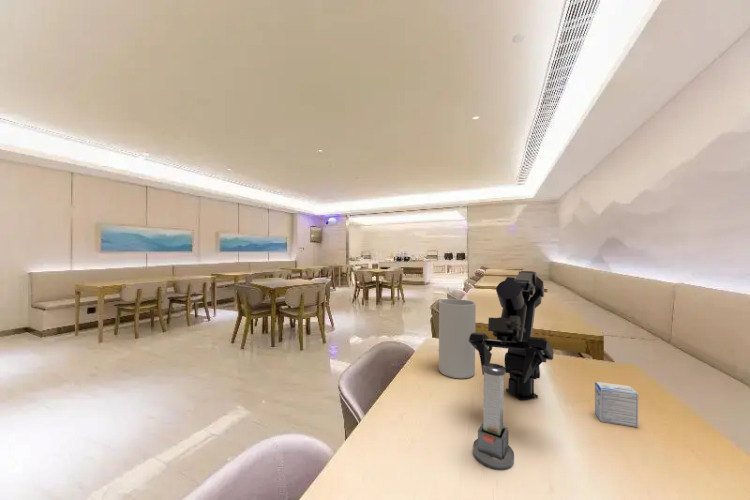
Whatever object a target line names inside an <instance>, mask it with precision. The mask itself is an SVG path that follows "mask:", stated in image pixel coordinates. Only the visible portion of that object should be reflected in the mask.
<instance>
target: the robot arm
mask: <svg viewBox="0 0 750 500" xmlns="http://www.w3.org/2000/svg"><path fill="white" fill-rule="evenodd" d="M495 292H496V294H497V299H498V301H499V304H500V307H501V308H502V309H501V310H502V311H501V314H500V316H499V317H488V321H487V322H488V325H487V331H488V332H492V335H493V336H494V337H495V338H496V339H493V338H489V336H488V335H487V334H486V333H482V332H475V333H472V334H471V335H470V337H469V342H470V343H471V344H472V346H473V347H474V348H475V351H477V352H478V355H479V359H480V367H481V368H482V365H483V364H486V363H491V359H492V356H493V354H492V353H491V351H493V348H499V349H507V352H505V354H504V367H505V368H506V374H509V378H508V388H505V391H506V392H507V393H509V394H510V395H512V396H513V397H515V398H517V399H518V400H520V401H525V400H531V399H536V398H537V399H538V398H539V395H538V394H536V393H535V380H537V379H540V378H541V369H540V365H541V364H542V363H547V360H549V361H552V360H554V348H553V347H552V345H551V344H550V342H549V341H548V340H547V338H546V337H536V336H533V332H534V331H533V328H534V321H535V314H536V313H535V312H536V308H538V307H539V306H540V305H542V300H543V299H542V298H544V297H545V285H544V280H542V279H541V278H540V277H538V276H537V272H536V271H535V272H534V271H530V270H521V271H518V274H517V275H516V276H515V277H513V276H506V278H505V279H504V280H503V281H501V282H500V283H498V284H497V286H496V288H495ZM481 372H482V376H484V372H483V370H482V369H481Z"/></svg>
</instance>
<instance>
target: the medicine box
mask: <svg viewBox="0 0 750 500" xmlns="http://www.w3.org/2000/svg"><path fill="white" fill-rule="evenodd" d="M594 413H595V416H597V418H598V419H599V421H600V422H602V423H608V424H615V425H621V426H628V427H635V428H639V393H638V392H637V391H636V390H635V389H633V387H631V386H630V385H626V384H625V385H623V384H618V383H617V384H616V383H608V382H601V381H599V382H598V381H595V382H594Z"/></svg>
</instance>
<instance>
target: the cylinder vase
mask: <svg viewBox="0 0 750 500" xmlns="http://www.w3.org/2000/svg"><path fill="white" fill-rule="evenodd" d="M438 303H439V306H438V309H439V310H438V311H439V312H438V370H439V372H440V373H441V374H442V375H444V376H446V377H447V378H453V379H469V378H471V377H473V376H475V373H476V349H475V348H474V347H473V346H472V344H471V343H470V342H469V337H470V335H471V334H472V333H476V307H477V306H476V305H477V303H476V302H475V301H474V300H473V301H472V300H467V299H459V298H458V299H457V298H455V299H454V298H450V299H448V298H447V299H439V302H438Z"/></svg>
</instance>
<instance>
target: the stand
mask: <svg viewBox="0 0 750 500" xmlns="http://www.w3.org/2000/svg"><path fill="white" fill-rule="evenodd" d="M509 435H510V434H509V428H508V427H506V426H503V430H502V432H501V434H500V436H498V435H496V434H493V433H490V432H487V431H484V430H483V422H482V423H481V424H480V427H479V428H478V430H477V438H476V439H475V440H474V441H473V444H472V454H473V456H474V459H475V460H476V461H477V462H478V463H480V464H481V465H483V466H484V467H486V468H489V469H492V470H497V471H505V470H506V471H507V470H509V469H511V468H513V466H514V464H515V453H514V450H513V449H512V447H511V446H510V444H509V443H510V442H509V437H510V436H509Z"/></svg>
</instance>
